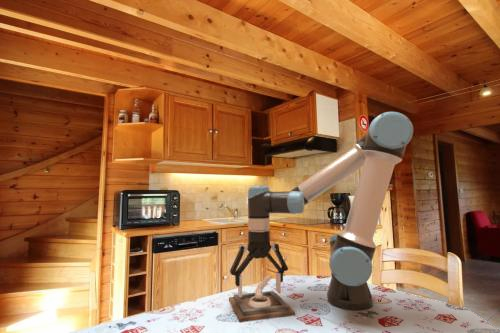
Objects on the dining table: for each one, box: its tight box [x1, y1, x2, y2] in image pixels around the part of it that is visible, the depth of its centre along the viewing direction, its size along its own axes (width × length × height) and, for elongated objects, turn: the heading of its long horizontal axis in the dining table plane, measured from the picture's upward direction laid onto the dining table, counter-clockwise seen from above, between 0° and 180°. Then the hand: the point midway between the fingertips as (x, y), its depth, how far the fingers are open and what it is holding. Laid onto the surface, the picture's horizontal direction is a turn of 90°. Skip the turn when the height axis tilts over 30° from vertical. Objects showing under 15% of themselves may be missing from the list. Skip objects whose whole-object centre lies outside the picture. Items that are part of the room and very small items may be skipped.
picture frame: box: [228, 290, 296, 323], centre depth 92 cm, size 18×18×2 cm
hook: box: [249, 273, 272, 308], centre depth 92 cm, size 8×12×7 cm
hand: (259, 294), depth 92 cm, fingers open, 13 cm apart
